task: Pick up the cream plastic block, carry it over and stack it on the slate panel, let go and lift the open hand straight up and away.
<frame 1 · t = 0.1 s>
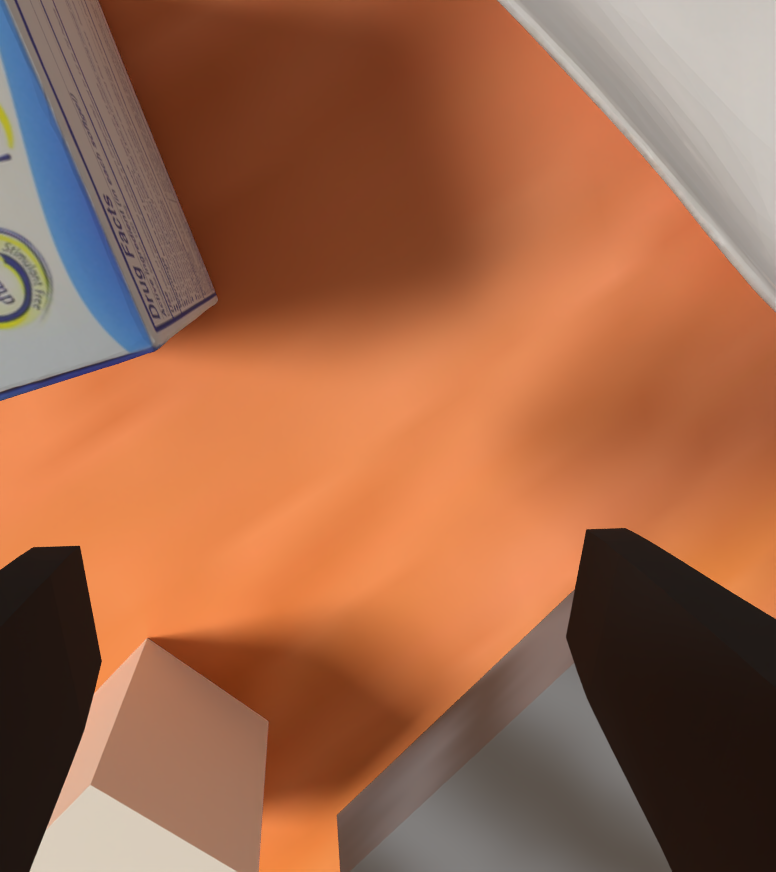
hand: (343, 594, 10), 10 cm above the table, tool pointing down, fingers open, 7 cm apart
medicine box: (88, 182, 17), on the table
slate panel: (561, 779, 25), on the table
cream block: (160, 730, 22), on the table
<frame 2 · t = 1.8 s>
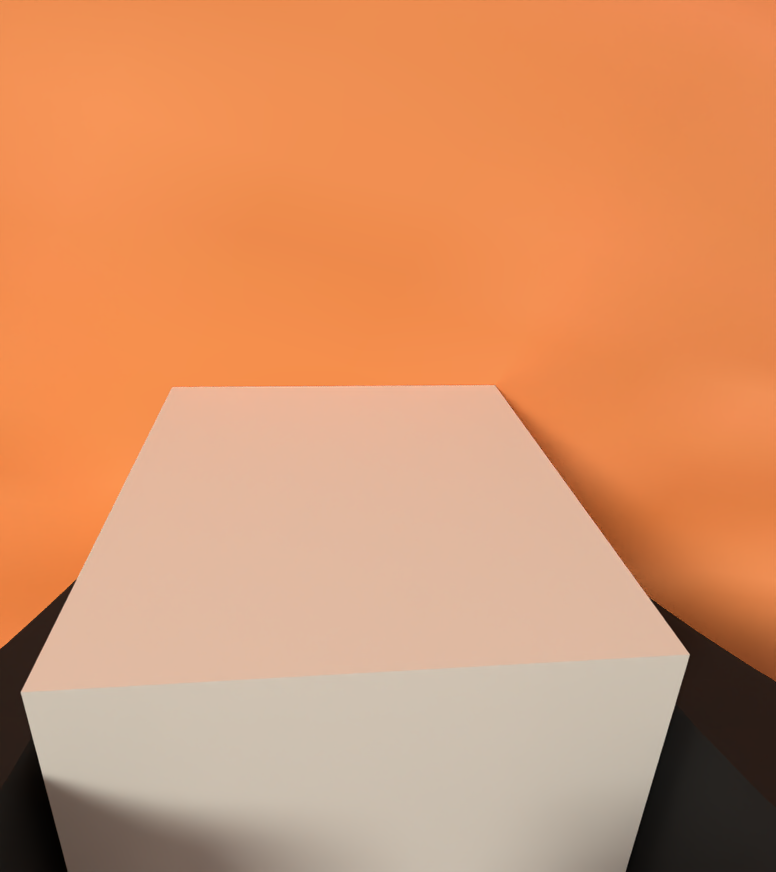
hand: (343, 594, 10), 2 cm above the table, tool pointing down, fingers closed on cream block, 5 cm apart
cream block: (337, 522, 11), on the table, touching gripper
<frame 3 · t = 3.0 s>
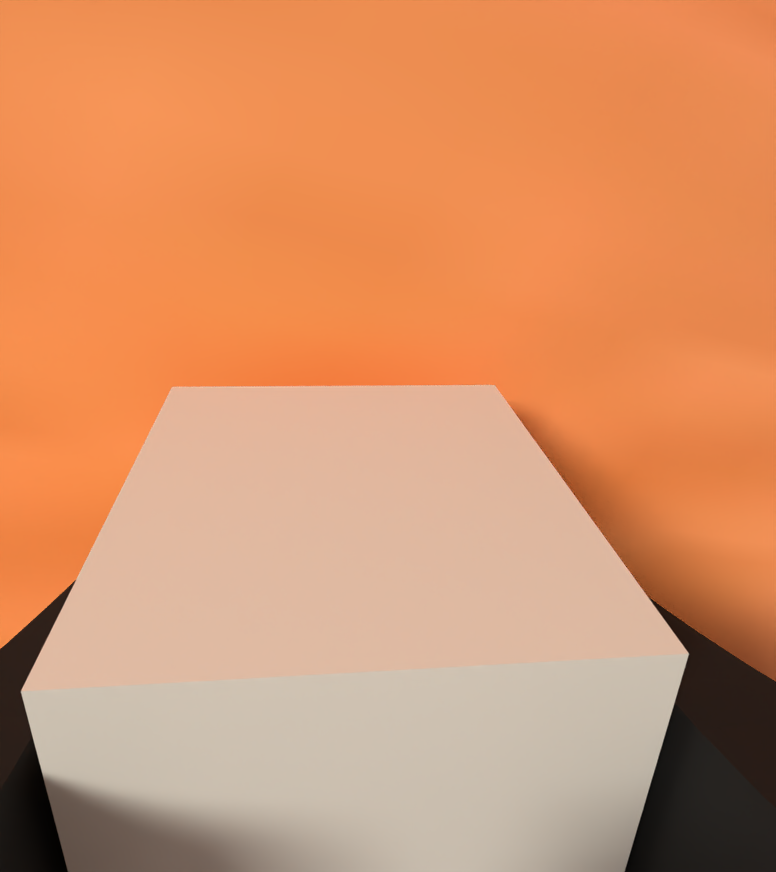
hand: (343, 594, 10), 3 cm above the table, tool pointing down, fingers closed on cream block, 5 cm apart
cream block: (337, 522, 11), point 1 cm above the table, touching gripper
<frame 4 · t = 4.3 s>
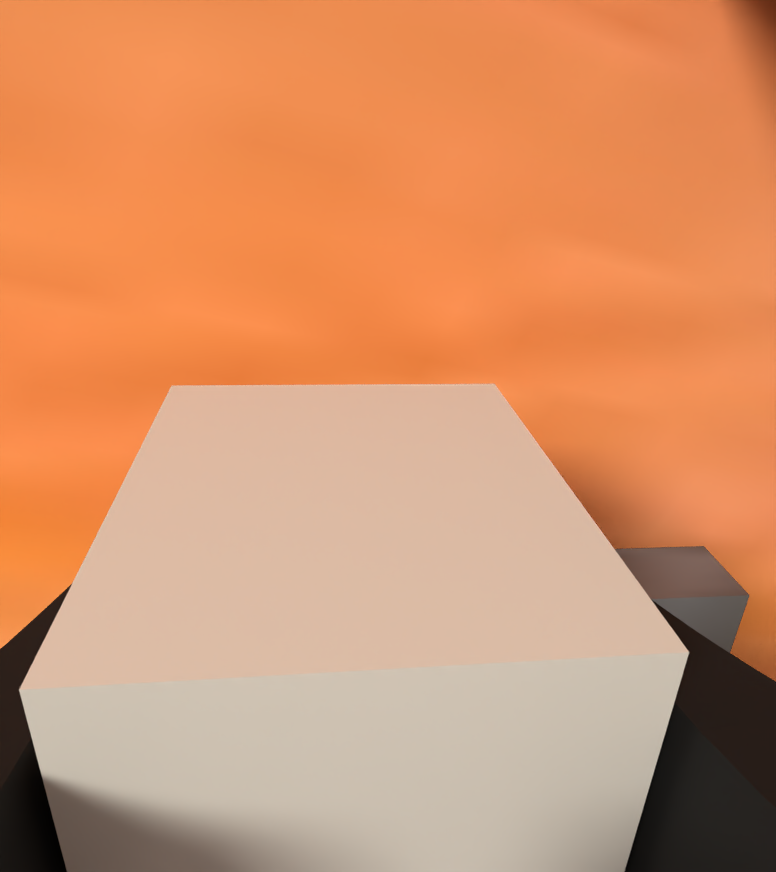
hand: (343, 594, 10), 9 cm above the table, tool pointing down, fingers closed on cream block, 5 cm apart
slate panel: (503, 680, 24), on the table
cream block: (336, 521, 11), point 7 cm above the table, touching gripper
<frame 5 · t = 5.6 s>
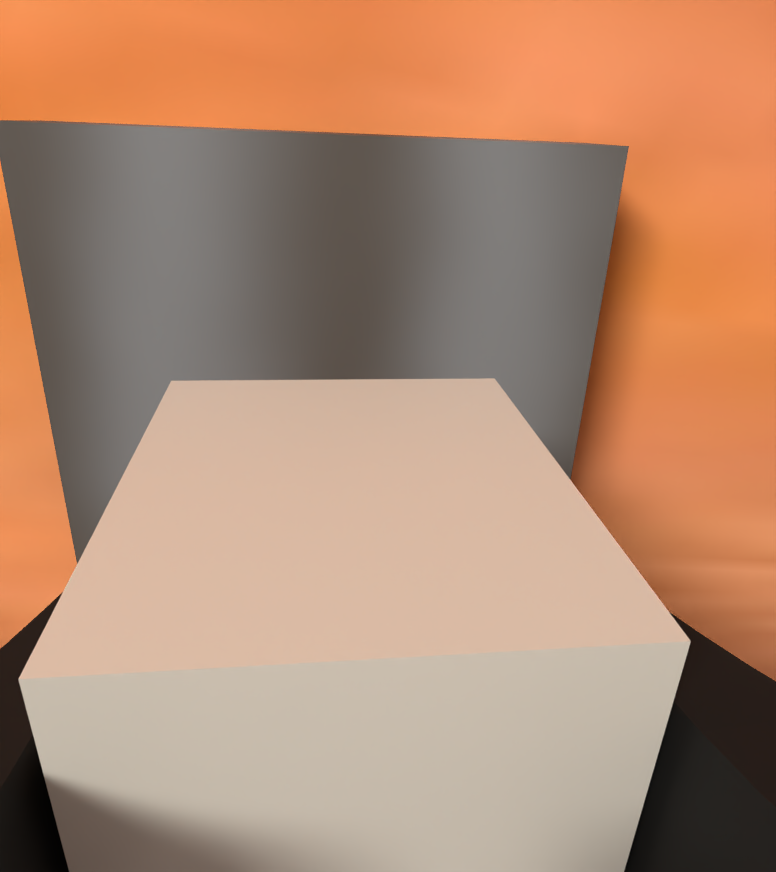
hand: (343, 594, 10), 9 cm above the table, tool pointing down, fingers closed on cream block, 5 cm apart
slate panel: (324, 377, 18), on the table
cream block: (337, 517, 11), point 7 cm above the table, touching gripper
when the fingers open (6 cm above the table, at t = 6.6 s): cream block drops 2 cm, point 2 cm above the table.
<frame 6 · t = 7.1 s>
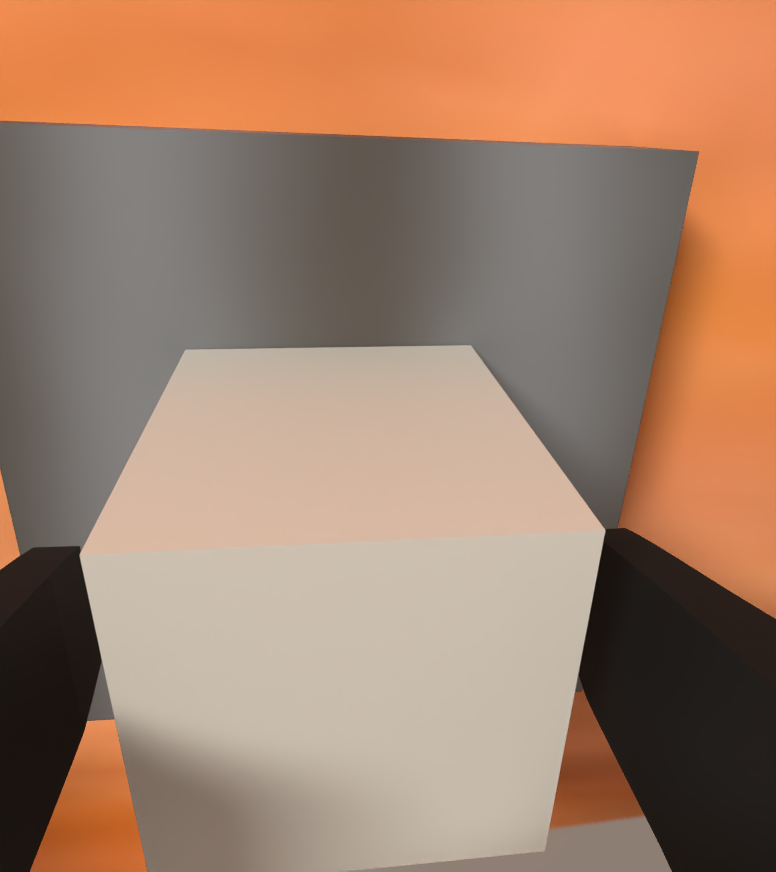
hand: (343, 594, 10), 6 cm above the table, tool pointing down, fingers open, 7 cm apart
slate panel: (328, 415, 16), on the table
cream block: (333, 472, 13), point 2 cm above the table
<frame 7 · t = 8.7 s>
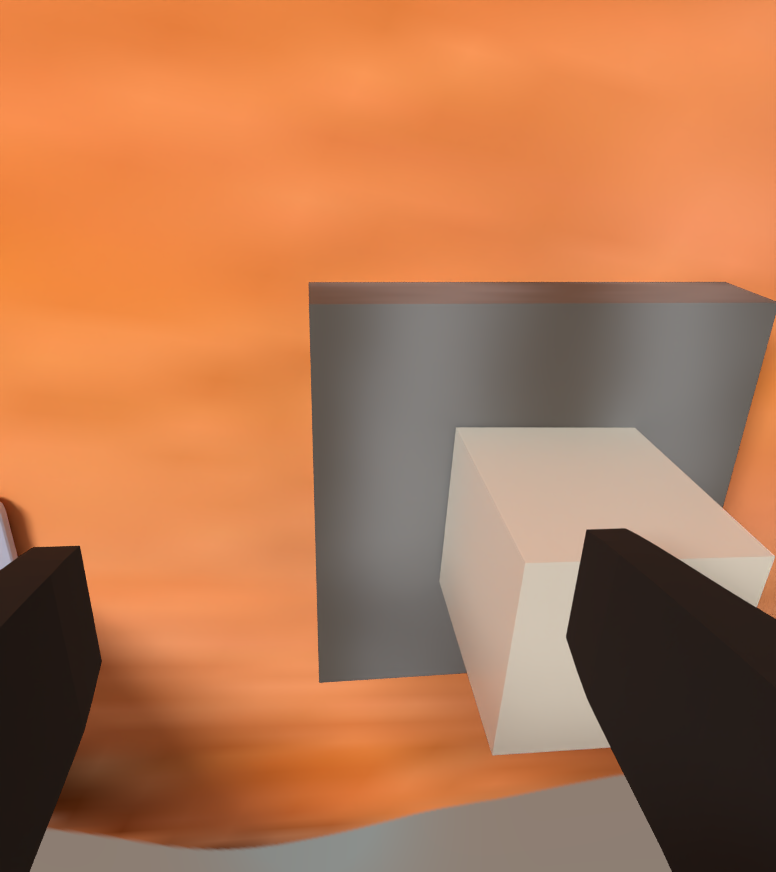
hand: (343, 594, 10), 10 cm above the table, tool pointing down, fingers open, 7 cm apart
slate panel: (499, 463, 22), on the table
cream block: (533, 507, 19), point 2 cm above the table
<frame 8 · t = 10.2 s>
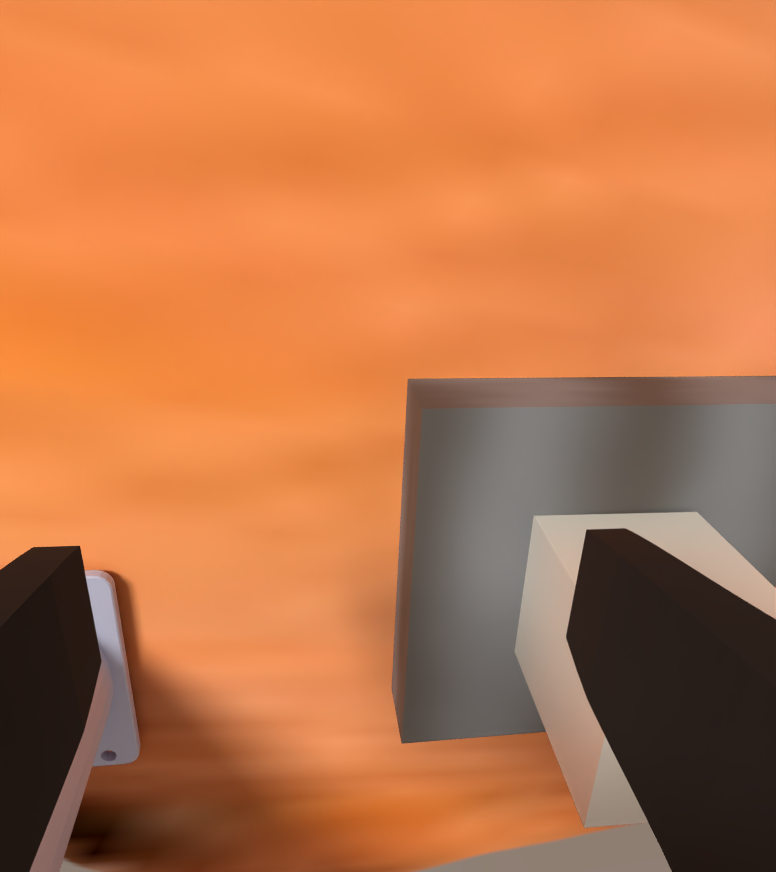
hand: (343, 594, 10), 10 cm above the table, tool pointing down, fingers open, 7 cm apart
slate panel: (565, 534, 23), on the table, touching cream block
cream block: (602, 584, 21), point 2 cm above the table, touching slate panel
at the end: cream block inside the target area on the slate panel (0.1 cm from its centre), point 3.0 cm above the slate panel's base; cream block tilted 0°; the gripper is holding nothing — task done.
